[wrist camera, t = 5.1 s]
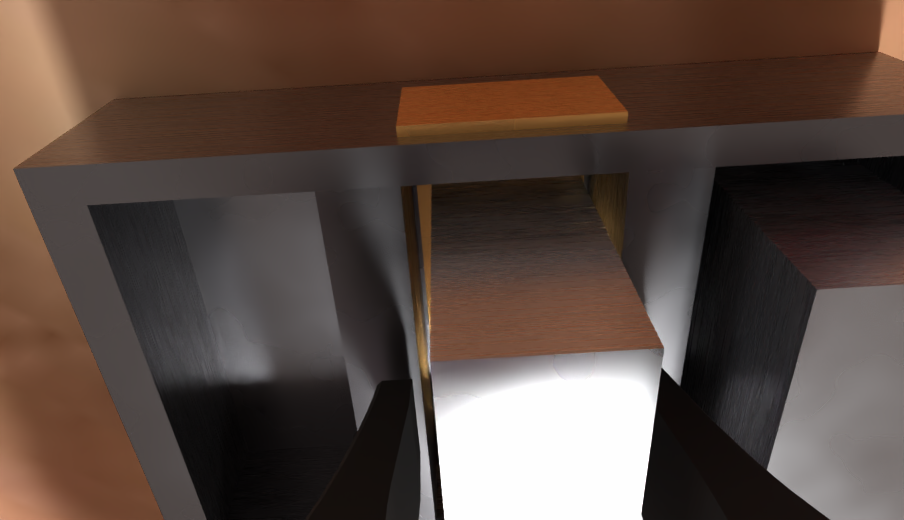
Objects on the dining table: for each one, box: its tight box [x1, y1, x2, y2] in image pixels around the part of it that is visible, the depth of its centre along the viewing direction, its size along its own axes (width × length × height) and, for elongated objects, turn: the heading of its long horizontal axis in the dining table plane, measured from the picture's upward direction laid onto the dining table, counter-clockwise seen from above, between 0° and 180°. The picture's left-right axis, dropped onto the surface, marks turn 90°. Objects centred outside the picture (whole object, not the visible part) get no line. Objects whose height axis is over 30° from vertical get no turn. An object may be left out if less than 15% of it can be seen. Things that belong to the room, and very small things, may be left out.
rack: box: [13, 52, 904, 520], centre depth 14 cm, size 11×17×7 cm, turn 93°
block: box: [430, 175, 664, 520], centre depth 13 cm, size 8×3×7 cm, turn 3°
